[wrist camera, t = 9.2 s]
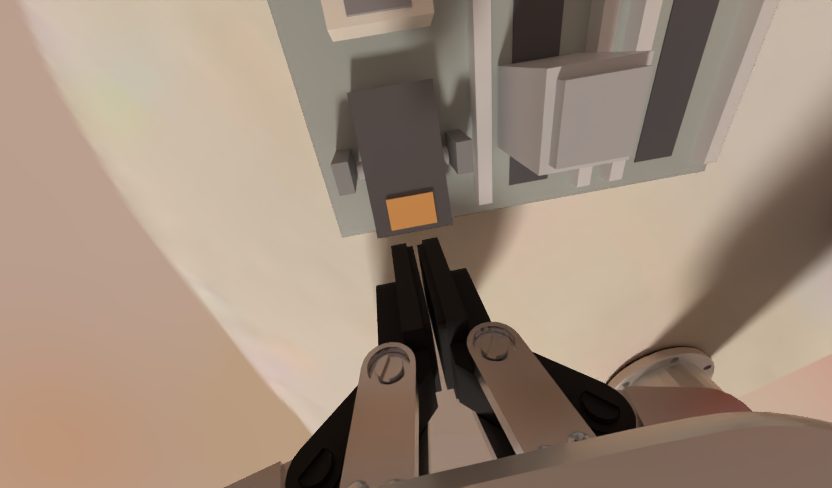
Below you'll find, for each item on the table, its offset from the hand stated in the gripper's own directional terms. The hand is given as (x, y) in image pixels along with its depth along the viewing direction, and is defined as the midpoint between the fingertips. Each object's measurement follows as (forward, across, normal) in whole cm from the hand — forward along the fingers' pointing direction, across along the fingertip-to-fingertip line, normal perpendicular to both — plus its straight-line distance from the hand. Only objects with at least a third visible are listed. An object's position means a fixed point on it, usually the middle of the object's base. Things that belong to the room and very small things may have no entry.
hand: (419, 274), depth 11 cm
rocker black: (+6, 0, -2) cm, 7 cm away
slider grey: (+8, -8, -4) cm, 12 cm away
